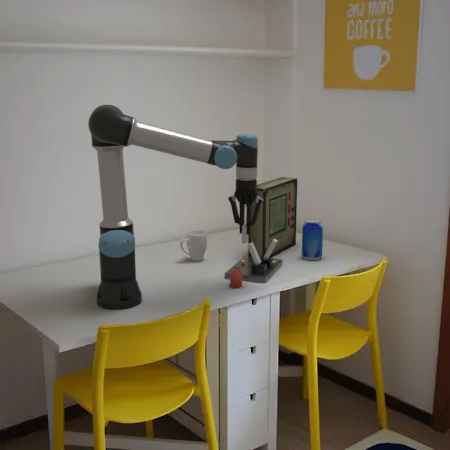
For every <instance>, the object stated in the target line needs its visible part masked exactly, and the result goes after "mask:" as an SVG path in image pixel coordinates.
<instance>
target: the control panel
mask: <svg viewBox="0 0 450 450" xmlns="http://www.w3.org/2000/svg"><path fill="white" fill-rule="evenodd" d="M257 194H258V196H259V197H260V198H263V199H264V201H263V202H262V204H261V206H260V210H259V213H258V217H257V221H256V223H255V224H254V225H251V233H250V234H249V235H248V242H247V245H248V244H249V243H252V242H253V244H254V246H255V248H256V251H257V253H258V255H259V257H262V258H264V256H265V254H266V252H267V250H268V248H269V246H270V244H271V242H272V240H273V239H276V240H278V241H277V243H276V245H275V247H274V249H273V251H272V253H271V255H270V257H269V258H273V257H276V256H277V255H279V254H281V253H283V252H285V251H287V250H289V249H290V248H292V247H294V246H296V243H297V242H296V241H297V208H298V207H297V206H298V205H297V204H298V203H297V202H298V178H297V177H296V178H295V177H285V176H281V177H278V178H276V179H275V178H274V179H272V180H269V181H268V180H267V181H266V182H262V183H258V184H257ZM256 204H257V203H256V199H255V200H254V202H253V203H252V215H251V221H252V217H253V214H254V210H255V206H256ZM247 256H250V257H252V255H251V253H250V251H249V248H248V247H247Z"/></svg>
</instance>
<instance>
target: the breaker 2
mask: <svg viewBox="0 0 450 450" xmlns="http://www.w3.org/2000/svg"><path fill="white" fill-rule="evenodd" d="M277 241H278V240H276V239H273V240H272V242H271V244H270V246H269V248H268V250H267V252H266V254H265V256H264V259H265V260H267V259H268V258H269V257H270V255H271V253H272V251H273V249H274V247H275V245H276V243H277Z"/></svg>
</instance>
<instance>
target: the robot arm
mask: <svg viewBox="0 0 450 450" xmlns="http://www.w3.org/2000/svg"><path fill="white" fill-rule="evenodd" d="M87 124H88V129H89V133H90V137H91V146H92V148H93V149H94V150H95V151H96V153H97V164H98V174H99V175H98V176H99V185H100V186H99V187H100V197H101V209H102V220H101V222H100V223H98V224H99V235H100V236H99V239H98V249H99V250H98V251H99V267H100V269H99V270H100V283H99V286H98V288H97V289H98V290H97V292H96V304H97V306H98V307H101V308H103V309H107V310H108V309H109V310H123V309H124V310H125V309H129V308H133V307H136V306H138V305H139V304H141V303H142V302H143V297H142V296H143V294H142V291H141V289H140V286H139V283H138V280H137V274H136V272H137V271H136V267H137V266H136V239H135V231H134V222H133V220H132V219H130V218H129V213H128V197H127V186H126V176H125V163H124V161H125V160H124V148H125V147H126V148H127V147H130V146H135V147H136V146H137V147H140V148H142V149H143V148H144V149H148V150H151V151H157V152H159V153H164V154H168V155H172V156H177V157H179V158H180V157H181V158H184V159H188V160H193V161H195V162H196V161H197V162H200V163H204V164H207V165H211V166H216V167H217V168H219V169H223V170H229V169H231V168H233V167H234V166H235V178H236V179H235V191H234V193H233V195H230V196H229V197H228V198H227V200H228V202H229V203H230V207H231V211H232V216H233V220H234V224H237V225H239V234H240V235H241V244H248V235H249V234H250V233H251V225H254V224H255V223H256V221H257V217H258V213H259V210H260V206H261V204H262V202H263V201H264V199H263V198H260V197H259V196H258V194H257V185H258V180H257V177H258V156H259V155H258V154H259V153H258V152H259V146H258V145H259V142H258V137H257V135H254V134H248V133H247V134H246V133H245V134H238V135H237V136H236V138H235V139H236V140H235V139H234V140H213V139H211V140H209V139H206V138H201V137H199V136H198V137H197V136H193V135H189V134H186V133H182V132H178V131H175V130H171V129H166V128H163V127H159V126H155V125H152V124H147V123H145V122H141V121H138V120H137V119H136V118H135V117H133V116H129V115H127V114H124V113H123V111H122V110H121V109H120V108H119V107H117V106H115V105H112V104H102V105H99V106H97V107H96V108H94V110H93V111H92V113H91V114H90V116H89V118H88V123H87ZM255 199H256V203H257V204H256V206H255V210H254V214H253V217H252V221H251V215H252V203H253V202H254V200H255ZM236 200H237V201H236ZM237 202H238V204H239V207H238V206H237V205H238V204H237ZM238 208H239V209H238ZM245 208H246V209H245ZM238 210H239V211H238ZM245 211H246V212H245ZM245 213H246V215H245ZM245 216H246V218H245ZM245 220H246V221H245Z"/></svg>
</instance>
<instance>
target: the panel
mask: <svg viewBox="0 0 450 450" xmlns="http://www.w3.org/2000/svg"><path fill="white" fill-rule="evenodd" d="M259 258H260V260H261V263H260V264H259V265H258V266H257V265H255V262H254V260H253V258H252V257H250V256H248V255H244V256H243V257H242V258H241V259H239V260H238V261H237V262H236V263H234V265H232V266H231V267H230V268H229V269H228V270H227V271H225V272H224V279H226V278H228V279H227V280H230V270H231V269H241V270H242V281H243V280H244V282H252V281H253V283H259V284H260V283H261V284H266V283H268V282H269V280H270V279H271V278H272V277H273V275H275V273H276V272H278V270H279V269H280V268H281V267H282V266H283V265H284V264H283V262H284V261H283V259H280V258H279V259H278V258H273V257H272V258H268V259H267V260H265V259H264V258H262V257H259Z"/></svg>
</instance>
